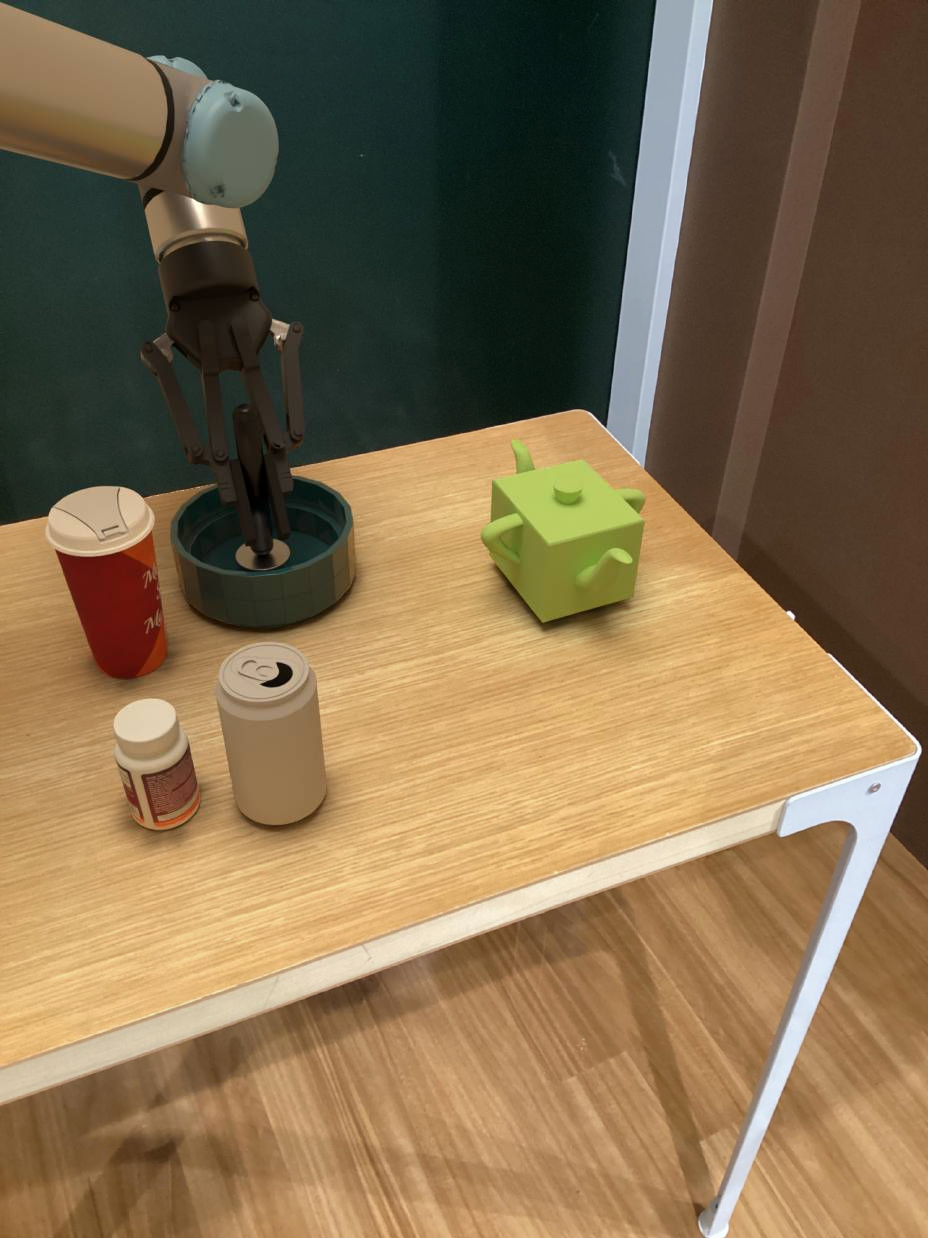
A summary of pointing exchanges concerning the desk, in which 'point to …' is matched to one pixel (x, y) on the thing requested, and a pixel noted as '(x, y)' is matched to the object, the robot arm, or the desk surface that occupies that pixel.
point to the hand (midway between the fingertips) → (268, 539)
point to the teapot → (564, 536)
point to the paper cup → (112, 576)
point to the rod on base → (256, 496)
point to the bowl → (266, 597)
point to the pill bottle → (155, 764)
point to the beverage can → (272, 732)
